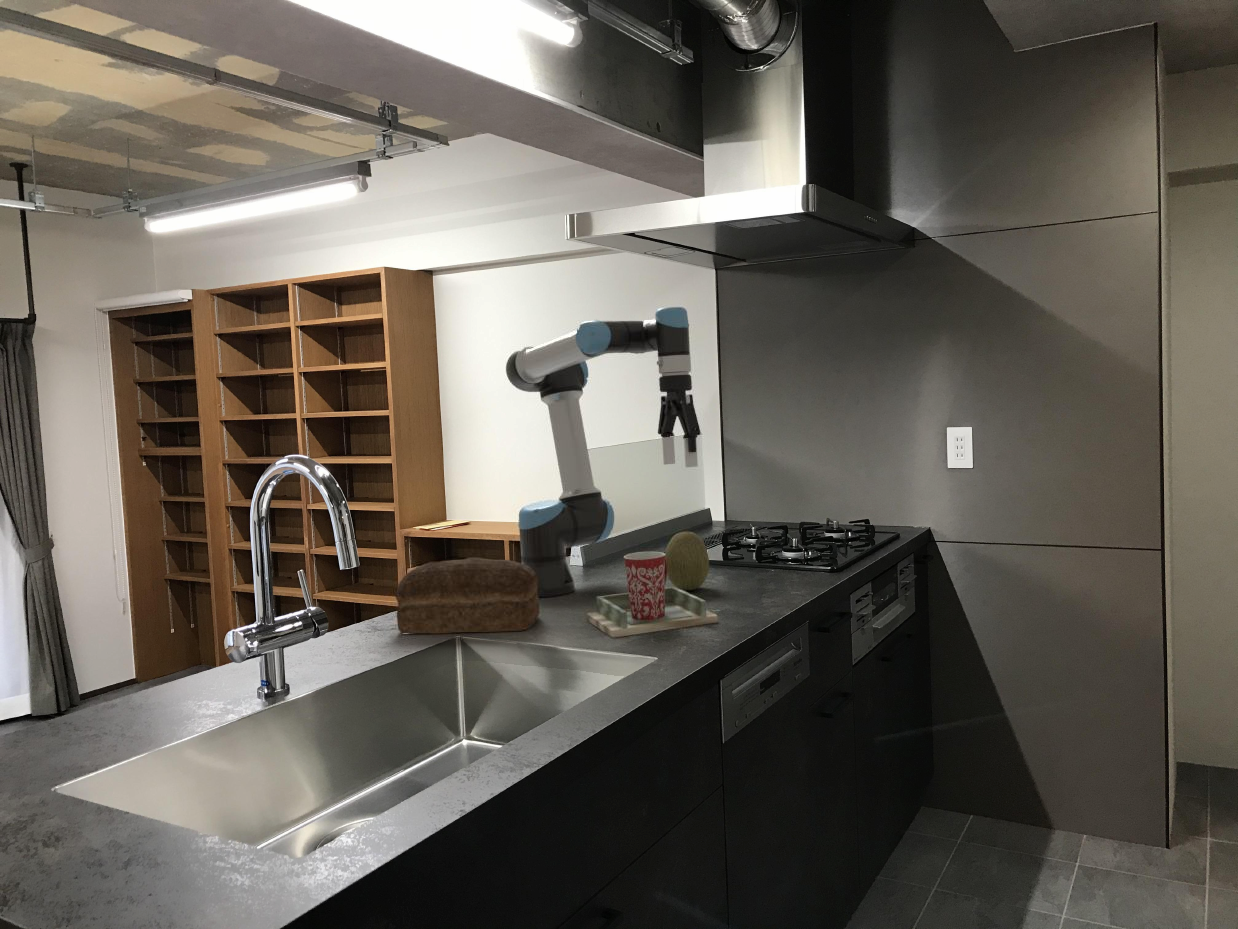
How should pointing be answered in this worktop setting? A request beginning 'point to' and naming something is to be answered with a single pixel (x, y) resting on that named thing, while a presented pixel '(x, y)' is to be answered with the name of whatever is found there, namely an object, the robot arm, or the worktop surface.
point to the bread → (468, 597)
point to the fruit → (687, 561)
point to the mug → (646, 584)
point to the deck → (678, 614)
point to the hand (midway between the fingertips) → (680, 465)
